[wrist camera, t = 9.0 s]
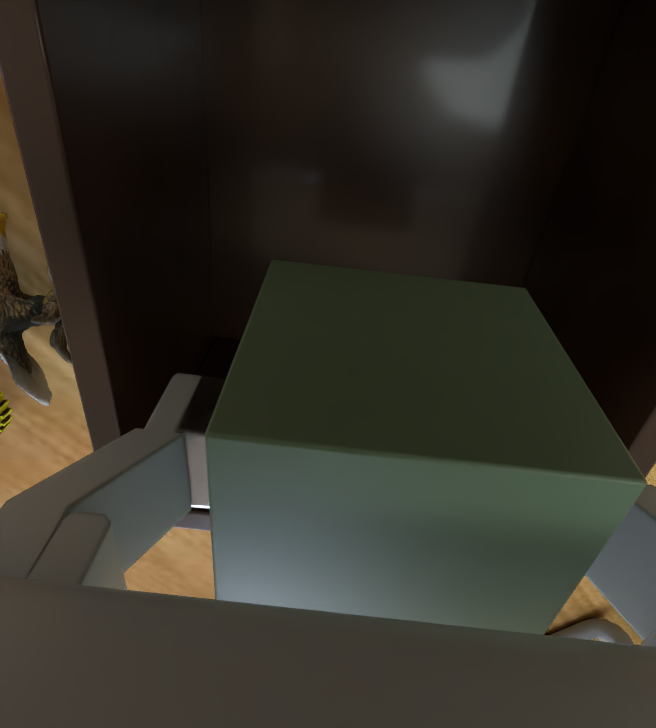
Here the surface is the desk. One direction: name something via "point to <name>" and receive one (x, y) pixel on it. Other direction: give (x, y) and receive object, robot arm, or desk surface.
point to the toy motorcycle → (4, 413)
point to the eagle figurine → (26, 326)
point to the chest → (336, 173)
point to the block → (408, 454)
